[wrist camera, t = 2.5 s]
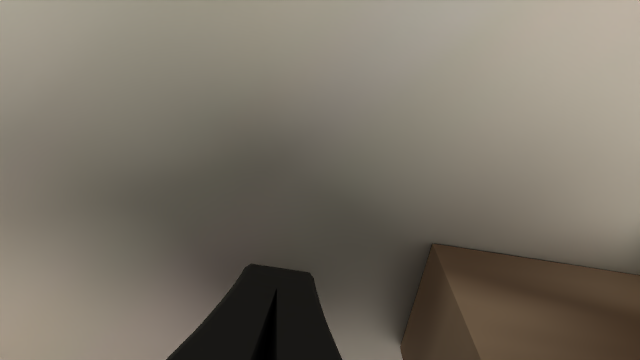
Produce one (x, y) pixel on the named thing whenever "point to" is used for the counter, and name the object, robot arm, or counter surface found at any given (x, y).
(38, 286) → the counter surface
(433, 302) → the walnut tee
